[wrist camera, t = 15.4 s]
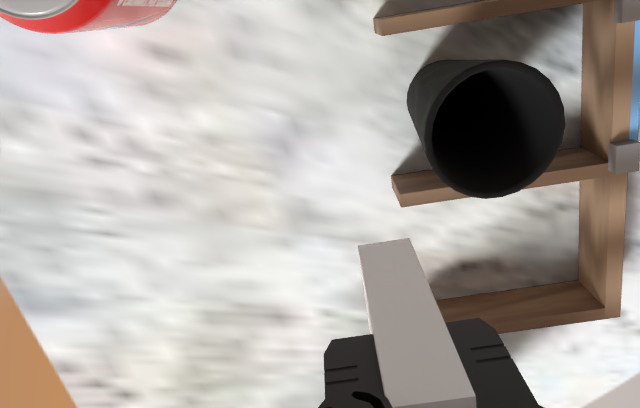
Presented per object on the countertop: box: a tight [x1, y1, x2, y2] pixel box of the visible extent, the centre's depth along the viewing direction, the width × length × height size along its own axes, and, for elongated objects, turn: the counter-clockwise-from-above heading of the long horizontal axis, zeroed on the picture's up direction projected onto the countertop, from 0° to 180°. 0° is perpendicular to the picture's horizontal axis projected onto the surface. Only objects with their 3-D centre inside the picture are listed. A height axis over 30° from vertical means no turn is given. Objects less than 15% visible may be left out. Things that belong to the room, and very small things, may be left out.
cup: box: [407, 60, 565, 199], centre depth 34 cm, size 8×8×12 cm
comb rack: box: [373, 0, 640, 334], centre depth 39 cm, size 25×17×6 cm
